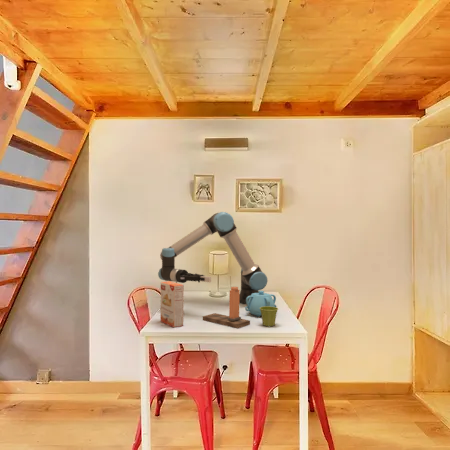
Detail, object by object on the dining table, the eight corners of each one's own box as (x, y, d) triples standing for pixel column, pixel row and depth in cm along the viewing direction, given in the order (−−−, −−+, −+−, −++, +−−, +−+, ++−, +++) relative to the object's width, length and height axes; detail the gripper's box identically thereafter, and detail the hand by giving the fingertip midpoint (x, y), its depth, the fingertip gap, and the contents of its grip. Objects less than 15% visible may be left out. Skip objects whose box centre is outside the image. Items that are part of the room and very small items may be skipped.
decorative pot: (241, 315, 213) (241, 291, 213) (254, 310, 227) (254, 287, 227) (268, 319, 205) (268, 294, 205) (279, 313, 218) (279, 290, 218)
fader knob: (240, 318, 195) (241, 286, 195) (233, 321, 191) (234, 288, 191) (234, 317, 198) (235, 286, 198) (227, 319, 193) (227, 287, 193)
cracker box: (159, 321, 197) (160, 281, 197) (169, 320, 201) (170, 280, 201) (173, 327, 186) (173, 285, 186) (183, 326, 190) (184, 284, 190)
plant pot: (258, 322, 198) (258, 306, 198) (275, 322, 198) (275, 306, 198) (261, 327, 188) (261, 310, 188) (279, 327, 189) (280, 310, 189)
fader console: (250, 324, 194) (250, 320, 194) (238, 328, 186) (238, 324, 186) (214, 316, 209) (215, 312, 209) (202, 320, 202) (202, 316, 202)
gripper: (187, 280, 224) (218, 284, 209) (171, 283, 214) (202, 288, 199) (187, 268, 224) (218, 271, 209) (171, 270, 214) (201, 274, 199)
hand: (210, 279), depth 204 cm, fingers closed
